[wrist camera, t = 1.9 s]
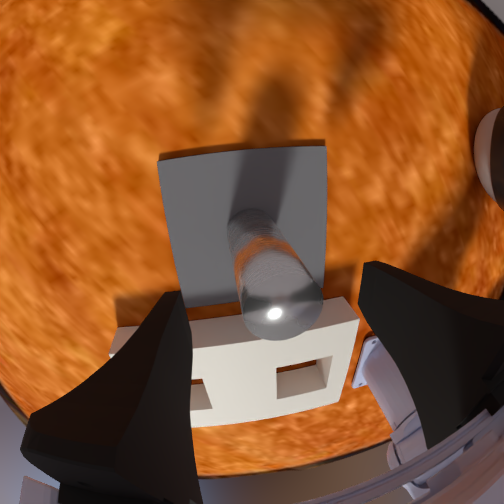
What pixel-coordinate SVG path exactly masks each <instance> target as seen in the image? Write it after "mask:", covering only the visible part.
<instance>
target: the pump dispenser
mask: <svg viewBox="0 0 504 504" xmlns="http://www.w3.org/2000/svg"><path fill="white" fill-rule="evenodd" d="M474 160H475V166H476V171H477V174H478V177H479V179H480V182H481V184H482V186H483V187H484V189H485V191H486V192H487V193H488V194H489V196H490V197H491V198H492V199H493V200H494V201H495V202H497V204H498V205H499V207H500V208H501V209H502V210H503V211H504V106H503V107H502V108H498V109H495V110H493V111H491V112H489V113H488V114H487V115H485V117H484V118H483V119H482V120H481V122H480V124H479V126H478V128H477V131H476V135H475V141H474Z"/></svg>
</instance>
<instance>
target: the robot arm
mask: <svg viewBox="0 0 504 504" xmlns="http://www.w3.org/2000/svg"><path fill="white" fill-rule="evenodd" d="M358 305H359V308H360V310H361V312H362V314H363V316H364V317H365V319H366V321H367V323H368V324H369V326H370V327H371V329H372V330H373V332H374V333H375V335H376V336H372V337H369V338H367V339H366V340H365V341H364V344H363V348H362V351H361V355H360V358H359V362H358V365H357V369H356V372H355V375H354V379H353V382H352V385H351V386H352V388H357V387H360V386H363V385H366V384H368V386H369V388H370V390H371V391H372V393H373V395H374V397H375V398H376V400H377V402H378V404H379V406H380V407H381V409H382V411H383V413H384V415H385V416H386V418H387V420H388V422H389V424H390V426H391V427H392V429H393V431H394V432H393V433H391V434H390V436H391V438H392V440H393V442H391V443H390V444H389V446H388V451H387V460H388V464H389V466H390V469H391V470H390V471H388V472H386V473H384V474H381V475H379V476H377V477H374V478H372V479H370V480H367V481H365V482H362V483H360V484H357V485H355V486H352V487H349V488H347V489H344V490H341V491H338V492H335V493H332V494H329V495H325V496H322V497H319V498H315V499H312V500H307V501H303V502H300V503H295V504H365V503H367V502H369V501H372V500H374V499H376V498H379V497H381V496H383V495H385V494H387V493H389V492H391V491H393V490H395V489H397V488H399V487H401V486H403V487H404V488H406V490H407V491H408V492H409V493H410V495H411V496H412V498H413V499H414V500H413V501H411V502H409V503H408V504H504V300H497V299H490V298H484V297H479V296H475V295H470V294H466V293H463V292H459V291H456V290H452V289H449V288H446V287H443V286H441V285H438V284H435V283H433V282H430V281H428V280H425V279H423V278H420V277H418V276H415V275H413V274H411V273H408V272H406V271H403V270H401V269H399V268H396V267H394V266H391V265H388V264H386V263H383V262H379V261H371V262H366V263H364V265H363V273H362V280H361V286H360V293H359V299H358ZM192 363H193V345H192V332H191V328H190V324H189V321H188V317H187V313H186V309H185V305H184V301H183V297H182V293H181V291H173V292H165V293H164V294H163V295H162V297H161V298H160V299H159V301H158V302H157V303H156V305H155V306H154V308H153V309H152V310H151V312H150V313H149V314H148V316H147V317H146V318H145V320H144V321H143V322H142V324H141V325H140V326H139V328H138V329H137V330H136V331H135V332H134V333H133V335H132V336H131V337H130V338H129V339H128V341H127V342H126V343H125V344H124V345H123V346H122V347H121V348H120V350H119V351H118V352H117V353H116V354H115V355H114V356H113V357H112V358H111V359H110V360H109V361H108V362H106V363H105V364H104V365H103V366H102V367H101V368H100V369H98V370H97V371H96V372H95V373H94V374H92V375H91V376H90V377H89V378H88V379H86V380H85V381H84V382H83V383H81V384H80V385H79V386H77V387H76V388H74V389H73V390H72V391H70V392H69V393H67V394H66V395H64V396H63V397H61V398H59V399H58V400H56V401H54V402H52V403H51V404H49V405H47V406H45V407H43V408H41V409H40V410H38V411H36V412H34V413H32V414H31V415H30V418H29V421H28V424H27V427H26V430H25V434H24V437H23V440H22V444H21V447H20V450H21V453H22V454H23V456H24V457H25V458H26V459H27V460H28V461H29V462H30V463H31V464H33V465H34V466H36V467H37V468H38V469H40V470H41V471H43V472H44V473H46V474H47V475H49V476H50V477H52V478H54V479H55V480H57V481H59V482H60V488H59V490H58V489H56V488H54V487H52V486H49V485H47V484H44V483H42V482H39V481H37V480H34V479H32V478H29V477H27V476H24V478H23V483H22V489H21V496H20V503H19V504H203V501H202V496H201V492H200V487H199V481H198V476H197V469H196V463H195V456H194V448H193V440H192V430H191V418H190V397H191V379H192Z"/></svg>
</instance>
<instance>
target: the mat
mask: <svg viewBox="0 0 504 504" xmlns="http://www.w3.org/2000/svg"><path fill="white" fill-rule="evenodd" d="M157 166H158V173H159V180H160V186H161V193H162V199H163V205H164V210H165V216H166V221H167V227H168V232H169V237H170V242H171V247H172V252H173V257H174V261H175V266H176V270H177V275H178V279H179V283H180V287H181V292H182V296H183V300H184V304H185V308H191V307H200V306H208V305H215V304H223V303H230V302H237V301H240V300H239V295H238V290H237V285H236V280H235V275H234V270H233V265H232V260H231V255H230V250H229V245H228V239H227V226H228V223H229V221H230V220H231V218H232V217H233V216H234V215H235V214H236V213H238V212H239V211H242V210H244V209H249V208H255V209H260V210H262V211H264V212H266V213H267V214H268V215H269V216H270V217H271V218H272V220H273V221H274V223H275V224H276V225H277V227H278V228H279V230H280V231H281V232H282V234H283V235H284V237H285V238H286V239H287V241H288V242H289V244H290V245H291V247H292V248H293V249H294V251H295V252H296V254H297V255H298V257H299V258H300V259H301V261H302V262H303V264H304V265H305V267H306V268H307V269H308V271H309V272H310V274H311V275H312V277H313V278H314V280H315V281H316V283H317V284H318V286H319V287H320V288H323V284H324V269H325V250H326V224H327V150H326V146H295V147H274V148H259V149H246V150H235V151H226V152H217V153H208V154H201V155H193V156H186V157H180V158H173V159H167V160H162V161H157Z"/></svg>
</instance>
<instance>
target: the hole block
mask: <svg viewBox="0 0 504 504" xmlns="http://www.w3.org/2000/svg"><path fill="white" fill-rule="evenodd" d="M359 320H360V318H359V317H358V316H357V314H356V313H355V312H354V310H353V309H352V308H351V306H350V305H349V304H348V302H347V301H346V300H345V298H344V297H343V296H342V297H337V298H332V299H327V300H323V308H322V311H321V313H320V316H319V317H318V319H317V320H316V322H315V323H314V324H313V325H312V326H311V327H310V328H309V329H308V330H306V331H305V332H303V333H302V334H300V335H298V336H296V337H293V338H290V339H287V340H281V341H270V340H265V339H261V338H259V337H257V336H255V335H254V334H252V333H251V332H250V331H249V330H248V328H247V327H246V325H245V323H244V319H243V315H242V314H240V315H233V316H226V317H218V318H211V319H203V320H194V321H189V324H190V328H191V332H192V345H193V363H192V379H203V382H204V384H195V385H191V397H190V418H191V427H206V426H217V425H226V424H235V423H242V422H249V421H255V420H262V419H267V418H273V417H278V416H283V415H287V414H292V413H297V412H301V411H305V410H309V409H313V408H317V407H321V406H324V405H328V404H331V403H335V402H338V401H339V398H340V395H341V392H342V388H343V385H344V381H345V378H346V374H347V371H348V367H349V363H350V359H351V355H352V351H353V347H354V343H355V338H356V334H357V329H358V325H359ZM138 328H139V326H131V327H118V328H117V330H116V333H115V336H114V339H113V342H112V345H111V348H110V351H109V356H110V358H112V357H113V356H114V355H115V354H116V353H117V352H118V351H119V350H120V348H121V347H122V346H123V345H124V344H125V343H126V342H127V341H128V339H129V338H130V337H131V336H132V335H133V333H134V332H135V331H136V330H137V329H138ZM316 359H317V361H316V365H313V366H309V367H304V368H300V369H295V370H290V371H285V372H280V373H276V368H278V367H283V366H288V365H293V364H298V363H302V362H307V361H311V360H316Z"/></svg>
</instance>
